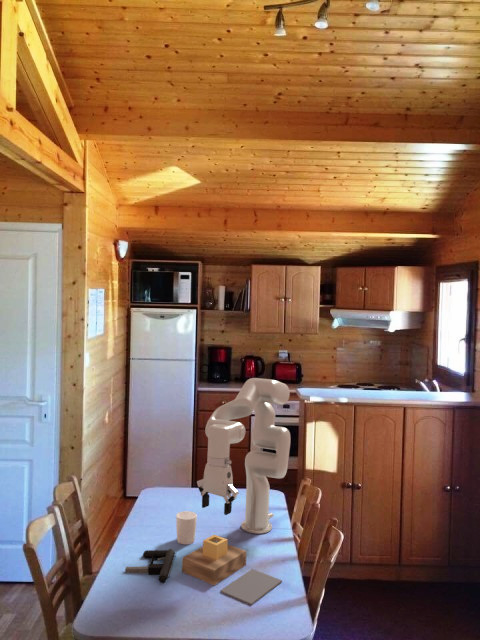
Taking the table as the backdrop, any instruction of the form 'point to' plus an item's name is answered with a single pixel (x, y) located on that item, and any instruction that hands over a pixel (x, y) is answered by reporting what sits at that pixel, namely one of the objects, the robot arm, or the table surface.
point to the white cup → (186, 527)
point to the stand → (213, 564)
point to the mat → (251, 587)
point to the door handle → (156, 569)
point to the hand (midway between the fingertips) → (216, 510)
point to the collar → (215, 547)
